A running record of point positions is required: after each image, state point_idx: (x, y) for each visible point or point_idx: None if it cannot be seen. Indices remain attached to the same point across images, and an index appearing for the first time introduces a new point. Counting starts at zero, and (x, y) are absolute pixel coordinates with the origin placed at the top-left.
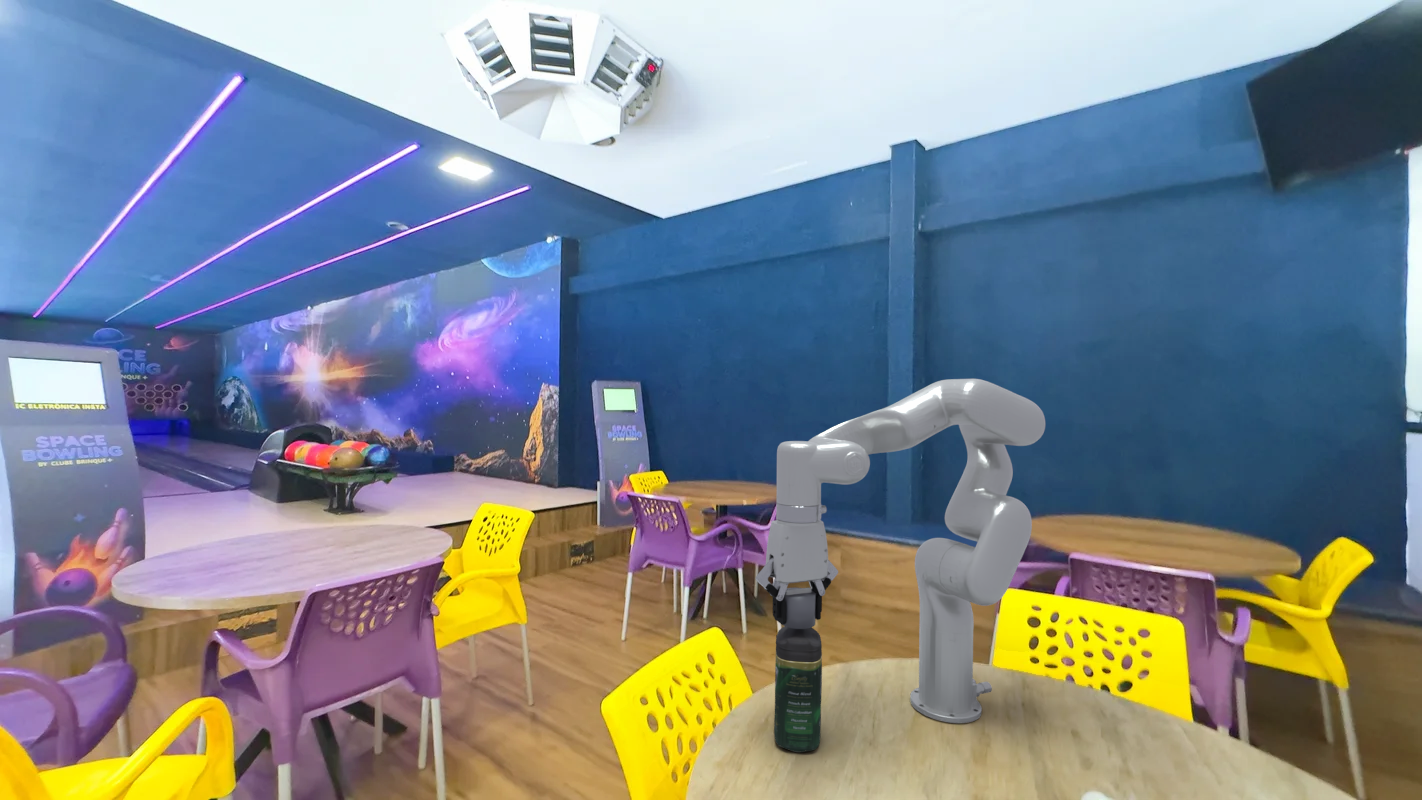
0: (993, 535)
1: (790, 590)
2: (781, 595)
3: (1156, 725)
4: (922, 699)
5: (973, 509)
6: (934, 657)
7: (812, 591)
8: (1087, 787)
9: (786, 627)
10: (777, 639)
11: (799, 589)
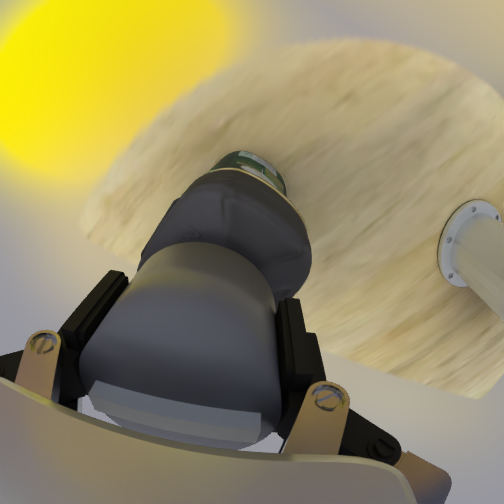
0: None
1: (120, 413)
2: (71, 401)
3: None
4: (458, 237)
5: None
6: (492, 292)
7: (271, 423)
8: (414, 380)
9: (208, 216)
10: (143, 258)
11: (179, 428)
